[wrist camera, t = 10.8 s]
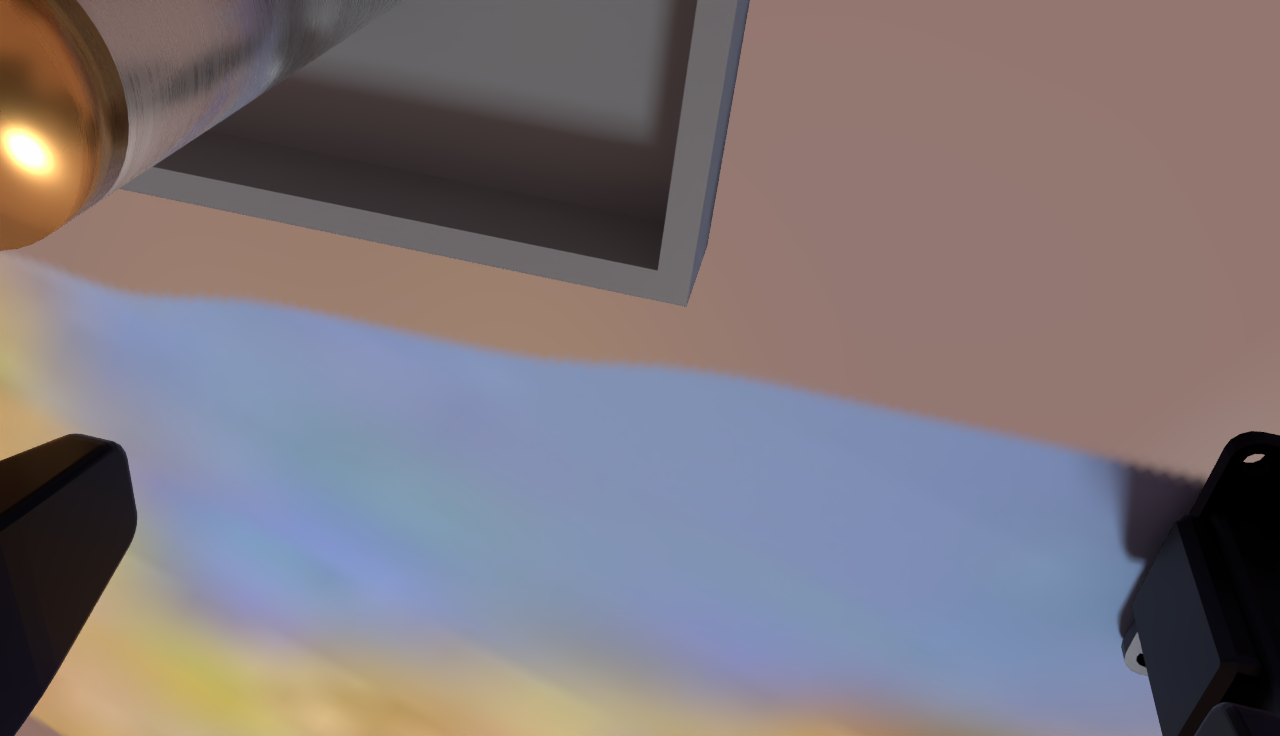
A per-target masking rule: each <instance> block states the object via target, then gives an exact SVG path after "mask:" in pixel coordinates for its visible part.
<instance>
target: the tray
mask: <svg viewBox="0 0 1280 736" xmlns="http://www.w3.org/2000/svg"><path fill="white" fill-rule="evenodd" d="M749 1H750V0H404V1H403V2H401V3H400V4H398V5H397V6H395V7H394V8H392V9H391V10H389V11H388V12H386V13H385V14H383V15H382V16H380V17H379V18H377V19H376V20H374V21H372V22H371V23H369V24H368V25H366V26H365V27H363V28H362V29H360V30H359V31H357V32H356V33H354V34H353V35H351V36H350V37H348V38H347V39H345V40H344V41H342V42H341V43H339V44H338V45H336V46H335V47H333V48H332V49H330V50H328V51H327V52H325V53H324V54H322V55H321V56H319V57H318V58H316V59H315V60H313V61H312V62H310V63H309V64H307V65H306V66H304V67H303V68H301V69H300V70H298V71H297V72H295V73H294V74H292V75H291V76H289V77H288V78H286V79H285V80H283V81H281V82H280V83H278V84H277V85H275V86H274V87H272V88H271V89H269V90H268V91H266V92H265V93H263V94H262V95H260V96H259V97H257V98H256V99H254V100H253V101H251V102H250V103H248V104H247V105H245V106H244V107H242V108H241V109H239V110H238V111H236V112H234V113H233V114H231V115H230V116H228V117H227V118H225V119H224V120H222V121H221V122H219V123H218V124H216V125H215V126H213V127H212V128H210V129H209V130H207V131H206V132H204V133H203V134H201V135H200V136H198V137H197V138H195V139H194V140H192V141H191V142H189V143H187V144H186V145H184V146H183V147H181V148H180V149H178V150H177V151H175V152H174V153H172V154H171V155H169V156H168V157H166V158H165V159H163V160H162V161H160V162H159V163H157V164H156V165H154V166H153V167H151V168H150V169H148V170H147V171H145V172H144V173H142V174H140V175H139V176H137V177H136V178H134V179H133V180H131V181H130V182H128V183H127V184H125V185H124V186H122V187H121V188H119V189H123V190H128V191H132V192H137V193H142V194H147V195H152V196H156V197H161V198H166V199H171V200H176V201H180V202H185V203H190V204H195V205H200V206H204V207H209V208H214V209H219V210H224V211H228V212H233V213H238V214H243V215H248V216H252V217H257V218H262V219H267V220H272V221H277V222H282V223H286V224H291V225H296V226H301V227H305V228H310V229H315V230H320V231H325V232H330V233H334V234H339V235H344V236H348V237H353V238H358V239H363V240H368V241H373V242H377V243H382V244H387V245H392V246H396V247H402V248H406V249H411V250H416V251H421V252H426V253H430V254H435V255H440V256H445V257H449V258H454V259H459V260H464V261H469V262H474V263H478V264H483V265H488V266H493V267H497V268H502V269H507V270H512V271H517V272H521V273H526V274H531V275H536V276H541V277H545V278H551V279H555V280H560V281H565V282H569V283H574V284H580V285H584V286H589V287H594V288H598V289H604V290H608V291H613V292H618V293H623V294H627V295H632V296H637V297H642V298H647V299H652V300H656V301H661V302H666V303H671V304H676V305H680V306H687V303H688V300H689V297H690V294H691V292H692V289H693V286H694V283H695V280H696V277H697V274H698V271H699V268H700V265H701V262H702V259H703V256H704V254H705V250H706V247H707V244H708V238H709V232H710V227H711V220H712V215H713V209H714V203H715V198H716V192H717V186H718V180H719V174H720V169H721V163H722V157H723V151H724V145H725V139H726V134H727V128H728V123H729V117H730V111H731V105H732V99H733V94H734V88H735V82H736V76H737V70H738V64H739V59H740V53H741V47H742V42H743V36H744V30H745V24H746V19H747V13H748V7H749Z"/></svg>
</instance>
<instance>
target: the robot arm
mask: <svg viewBox="0 0 1280 736" xmlns="http://www.w3.org/2000/svg"><path fill="white" fill-rule="evenodd" d="M1253 454H1264V455H1265V456H1264V457H1263V458H1262V459H1261V460H1259V461H1257V462H1254V463H1245V462H1243V461H1244V460H1245V459H1246V458H1247V457H1248V456H1251V455H1253ZM136 526H137V510H136V504H135V499H134V493H133V487H132V482H131V476H130V471H129V465H128V459H127V455H126V452H125V451H124V449H123V448H122V447H121V446H120V445H119V444H117V443H115V442H113V441H109V440H105V439H101V438H96V437H92V436H88V435H83V434H69V435H66V436H63V437H60V438H57V439H55V440H52V441H50V442H47V443H45V444H42V445H40V446H37V447H35V448H32V449H29V450H27V451H24V452H22V453H19V454H17V455H14V456H12V457H9V458H7V459H4V460H1V461H0V736H14V735H15V734H16V733H17V731H18V730H19V729H20V727H21V726H22V724H23V723H24V722H25V720H26V719H27V717H28V716H29V714H30V713H31V712H32V710H33V709H34V707H35V706H36V704H37V703H38V701H39V700H40V698H41V697H42V696H43V694H44V692H45V691H46V689H47V687H48V686H49V684H50V683H51V681H52V679H53V678H54V676H55V675H56V673H57V671H58V670H59V668H60V666H61V664H62V663H63V661H64V659H65V657H66V656H67V654H68V652H69V650H70V649H71V647H72V645H73V644H74V642H75V640H76V638H77V637H78V635H79V633H80V631H81V630H82V628H83V626H84V624H85V623H86V621H87V619H88V617H89V616H90V614H91V612H92V610H93V609H94V607H95V605H96V603H97V602H98V600H99V598H100V597H101V595H102V593H103V591H104V590H105V588H106V586H107V584H108V583H109V581H110V579H111V577H112V576H113V574H114V572H115V570H116V569H117V567H118V565H119V563H120V562H121V560H122V558H123V557H124V555H125V553H126V551H127V550H128V548H129V546H130V544H131V542H132V540H133V537H134V534H135V531H136ZM1132 611H1133V615H1134V620H1133V622H1132V624H1131V626H1130V627H1129V629H1128V631H1127V633H1126V635H1125V637H1124V639H1123V641H1122V646H1121V648H1122V652H1123V657H1124V661H1125V663H1126V666H1127V667H1128V668H1129V669H1130V670H1131V671H1133V672H1136V673H1138V674H1141V675H1145V676H1148V677H1149V681H1150V685H1151V689H1152V694H1153V698H1154V702H1155V706H1156V710H1157V714H1158V718H1159V723H1160V727H1161V731H1162V735H1163V736H1280V435H1275V434H1270V433H1265V432H1254V431H1251V432H1246V433H1242V434H1239V435H1238V436H1236V437H1235V438H1233V439H1231V440H1230V441H1229V442H1228V444H1227V445H1226V446H1225V448H1224V449H1223V451H1222V453H1221V455H1220V457H1219V459H1218V461H1217V463H1216V465H1215V466H1214V468H1213V470H1212V472H1211V474H1210V476H1209V478H1208V480H1207V482H1206V483H1205V485H1204V487H1203V489H1202V491H1201V493H1200V495H1199V497H1198V499H1197V501H1196V502H1195V504H1194V506H1193V508H1192V510H1191V512H1190V514H1189V515H1186V516H1184V517H1182V518H1181V519H1179V520H1178V521H1176V522H1175V523H1174V524H1173V526H1172V528H1171V530H1170V532H1169V534H1168V536H1167V538H1166V540H1165V542H1164V544H1163V545H1162V547H1161V549H1160V551H1159V553H1158V555H1157V557H1156V559H1155V561H1154V563H1153V565H1152V567H1151V568H1150V570H1149V572H1148V574H1147V576H1146V578H1145V580H1144V582H1143V584H1142V586H1141V588H1140V590H1139V592H1138V593H1137V595H1136V597H1135V599H1134V601H1133V603H1132ZM1141 652H1143V654H1141Z"/></svg>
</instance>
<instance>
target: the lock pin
mask: <svg viewBox="0 0 1280 736" xmlns="http://www.w3.org/2000/svg"><path fill="white" fill-rule="evenodd" d="M403 1H404V0H0V251H3V250H11V249H18V248H21V247H24V246H28V245H31V244H33V243H35V242H37V241H39V240H41V239H43V238H45V237H46V236H48V235H49V234H51V233H52V232H54V231H56V230H57V229H59V228H60V227H62V226H63V225H65V224H66V223H68V222H69V221H71V220H72V219H74V218H75V217H77V216H78V215H80V214H81V213H83V212H84V211H86V210H87V209H89V208H90V207H92V206H93V205H95V204H96V203H98V202H99V201H101V200H103V199H104V198H106V197H107V196H109V195H110V194H112V193H113V192H115V191H116V190H118V189H119V188H121V187H122V186H124V185H125V184H127V183H128V182H130V181H131V180H133V179H134V178H136V177H137V176H139V175H140V174H142V173H144V172H145V171H147V170H148V169H150V168H151V167H153V166H154V165H156V164H157V163H159V162H160V161H162V160H163V159H165V158H166V157H168V156H169V155H171V154H172V153H174V152H175V151H177V150H178V149H180V148H181V147H183V146H184V145H186V144H187V143H189V142H191V141H192V140H194V139H195V138H197V137H198V136H200V135H201V134H203V133H204V132H206V131H207V130H209V129H210V128H212V127H213V126H215V125H216V124H218V123H219V122H221V121H222V120H224V119H225V118H227V117H228V116H230V115H231V114H233V113H234V112H236V111H238V110H239V109H241V108H242V107H244V106H245V105H247V104H248V103H250V102H251V101H253V100H254V99H256V98H257V97H259V96H260V95H262V94H263V93H265V92H266V91H268V90H269V89H271V88H272V87H274V86H275V85H277V84H278V83H280V82H281V81H283V80H285V79H286V78H288V77H289V76H291V75H292V74H294V73H295V72H297V71H298V70H300V69H301V68H303V67H304V66H306V65H307V64H309V63H310V62H312V61H313V60H315V59H316V58H318V57H319V56H321V55H322V54H324V53H325V52H327V51H328V50H330V49H332V48H333V47H335V46H336V45H338V44H339V43H341V42H342V41H344V40H345V39H347V38H348V37H350V36H351V35H353V34H354V33H356V32H357V31H359V30H360V29H362V28H363V27H365V26H366V25H368V24H369V23H371V22H372V21H374V20H376V19H377V18H379V17H380V16H382V15H383V14H385V13H386V12H388V11H389V10H391V9H392V8H394V7H395V6H397V5H398V4H400V3H401V2H403Z"/></svg>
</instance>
